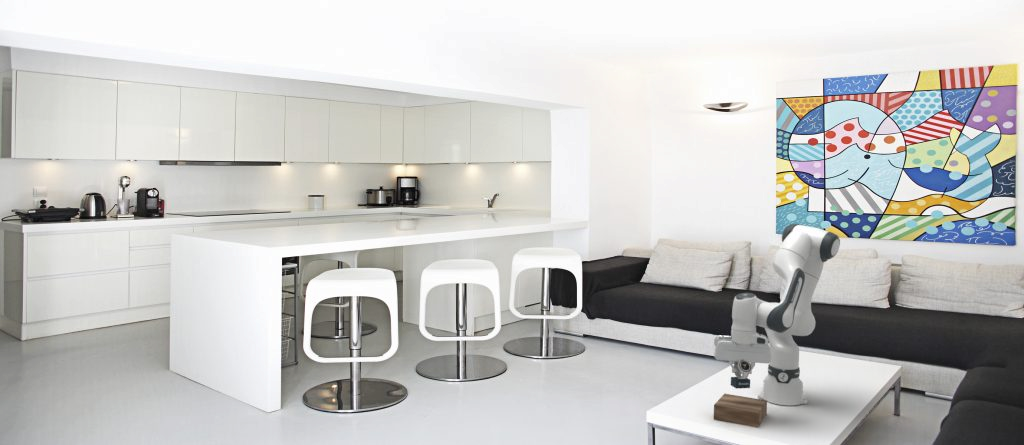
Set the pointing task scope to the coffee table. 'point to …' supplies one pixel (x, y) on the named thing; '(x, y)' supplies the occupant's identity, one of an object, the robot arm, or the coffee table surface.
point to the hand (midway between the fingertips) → (741, 373)
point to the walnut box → (740, 410)
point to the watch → (744, 369)
